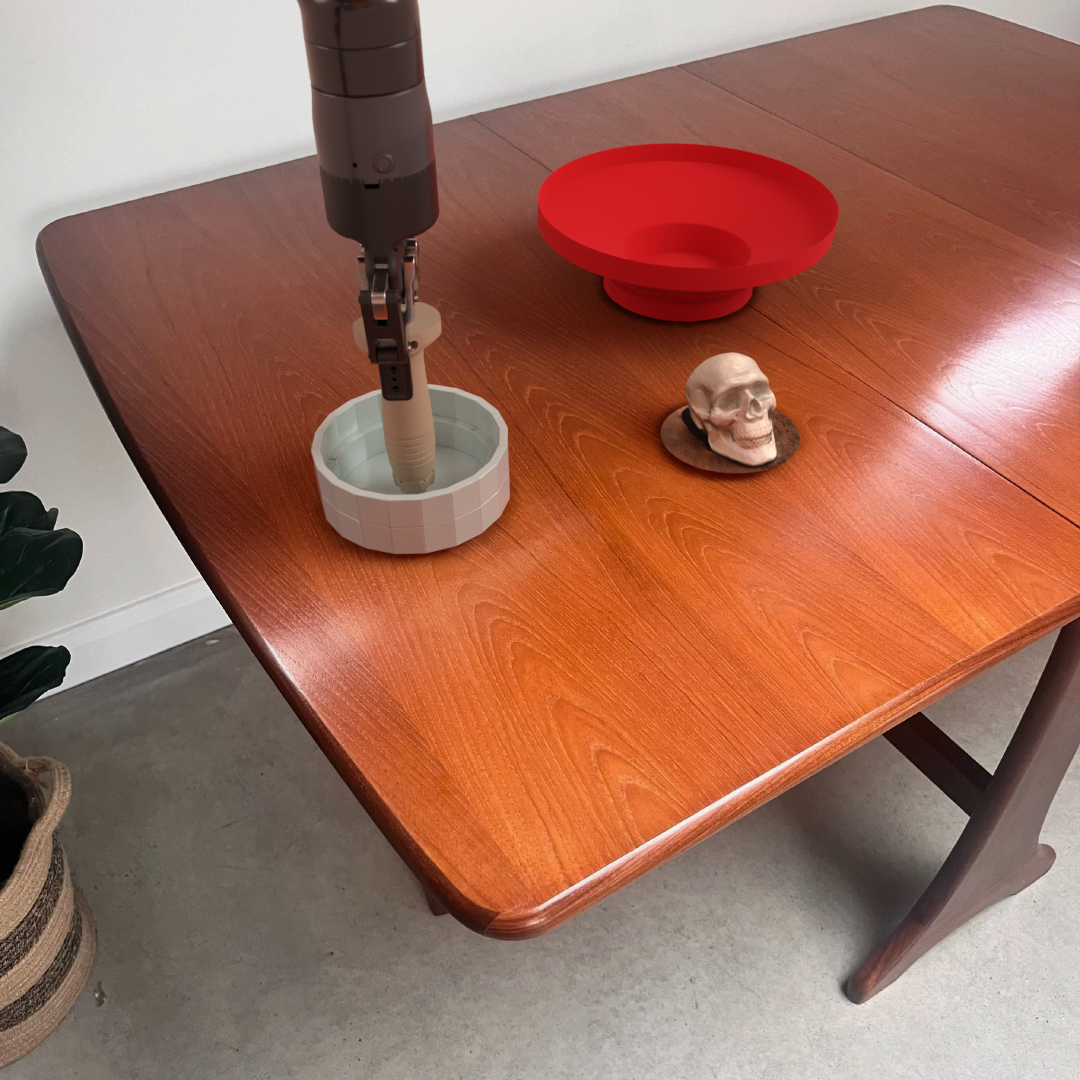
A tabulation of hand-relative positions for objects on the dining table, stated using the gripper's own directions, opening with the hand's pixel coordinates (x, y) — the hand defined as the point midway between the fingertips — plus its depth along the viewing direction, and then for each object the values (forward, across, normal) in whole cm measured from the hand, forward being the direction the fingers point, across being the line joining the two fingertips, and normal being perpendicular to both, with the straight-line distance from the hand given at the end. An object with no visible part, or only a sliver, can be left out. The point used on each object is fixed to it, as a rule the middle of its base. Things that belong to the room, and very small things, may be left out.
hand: (401, 374), depth 78 cm
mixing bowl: (+12, 0, 0) cm, 12 cm away
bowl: (+12, -35, +26) cm, 45 cm away
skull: (+12, -7, +27) cm, 31 cm away
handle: (+11, 0, 0) cm, 11 cm away
